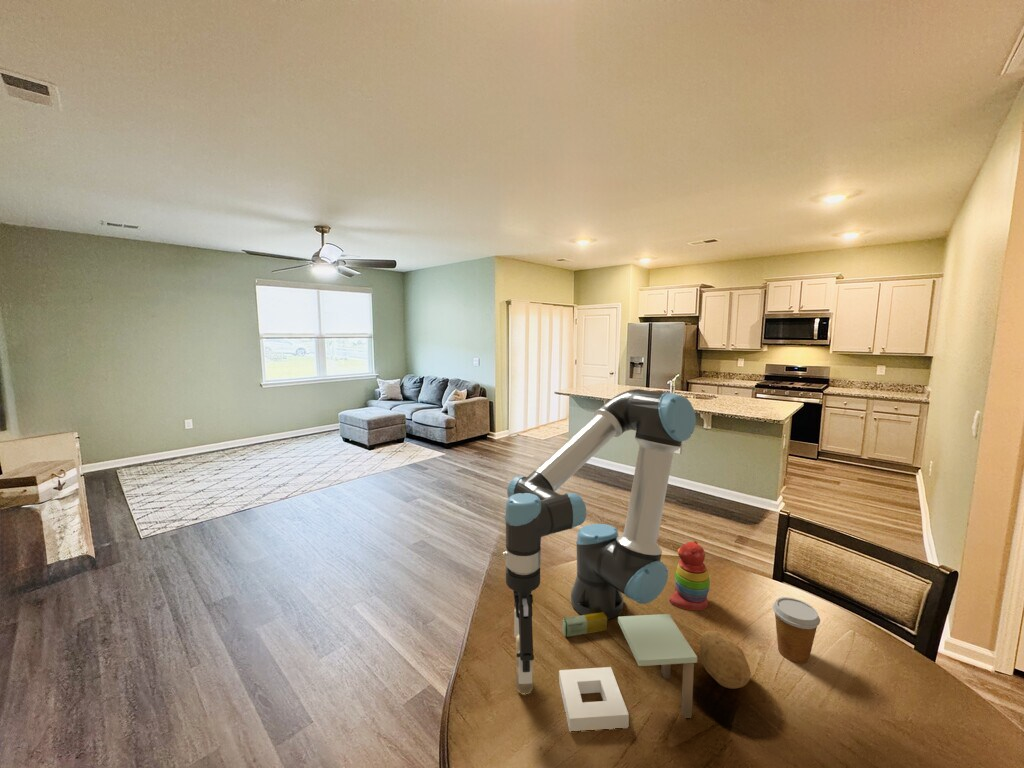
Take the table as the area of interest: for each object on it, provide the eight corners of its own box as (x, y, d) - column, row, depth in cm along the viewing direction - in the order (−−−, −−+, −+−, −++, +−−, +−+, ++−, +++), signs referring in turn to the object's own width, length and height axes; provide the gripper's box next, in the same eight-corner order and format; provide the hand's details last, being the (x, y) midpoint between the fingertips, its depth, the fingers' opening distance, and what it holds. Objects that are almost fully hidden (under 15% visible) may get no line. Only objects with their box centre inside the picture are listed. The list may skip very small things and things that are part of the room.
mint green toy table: (617, 673, 96) (618, 616, 94) (667, 669, 96) (668, 613, 95) (637, 725, 83) (638, 660, 81) (694, 720, 84) (697, 656, 82)
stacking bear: (677, 585, 129) (678, 531, 127) (712, 597, 123) (714, 540, 121) (667, 603, 120) (669, 546, 118) (704, 616, 115) (707, 556, 113)
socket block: (559, 682, 93) (559, 670, 93) (610, 678, 94) (610, 666, 94) (569, 732, 82) (569, 718, 81) (628, 728, 82) (628, 714, 82)
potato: (728, 652, 102) (730, 622, 101) (761, 702, 88) (763, 668, 87) (688, 652, 102) (689, 622, 101) (715, 702, 88) (716, 667, 87)
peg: (516, 682, 94) (515, 633, 92) (531, 681, 94) (531, 632, 93) (517, 695, 90) (516, 645, 89) (533, 694, 90) (532, 644, 89)
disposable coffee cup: (825, 671, 95) (829, 623, 94) (780, 665, 97) (783, 618, 96) (805, 642, 105) (808, 598, 103) (764, 637, 106) (766, 594, 105)
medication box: (565, 638, 107) (565, 624, 107) (561, 631, 110) (561, 617, 110) (607, 631, 110) (607, 617, 109) (603, 624, 113) (603, 610, 112)
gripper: (503, 539, 101) (503, 619, 103) (508, 603, 76) (508, 707, 78) (533, 538, 101) (533, 618, 104) (548, 601, 77) (547, 705, 79)
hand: (522, 657), depth 91 cm, fingers open, 13 cm apart
